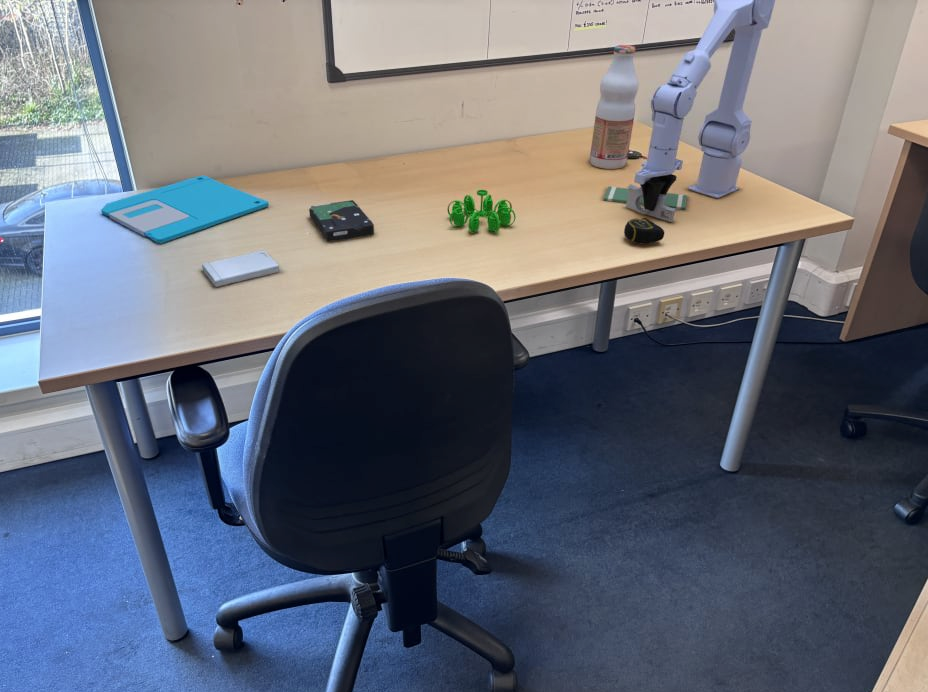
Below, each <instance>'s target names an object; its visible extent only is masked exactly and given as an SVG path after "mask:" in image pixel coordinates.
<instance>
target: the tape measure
mask: <svg viewBox="0 0 928 692" xmlns="http://www.w3.org/2000/svg"><path fill="white" fill-rule="evenodd" d="M623 234H624V237H625V239H626V240H628V241H630V242H632V243H635V244H637V245H638V244H639V245H640V244H641V245H649V244H653V243H656V242H659V241H662V240H663V239H664V236H665V230H664V229H663V228H662V227H661V226H659V225H658V224H657V223H655V222H654V221H651V220H650V219H649V218H647V217H642V218H632V219H629V220H628V221H627V222H626V224H625V225H624V229H623Z"/></svg>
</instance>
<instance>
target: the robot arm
mask: <svg viewBox="0 0 928 692" xmlns="http://www.w3.org/2000/svg"><path fill="white" fill-rule="evenodd" d="M775 3H776V0H714V2H713V15H712V17H711V19H710V21H709V23H708V24H707V26H706V28H705V30H704V32H703V34H702V35H701V38H700V39H699V41H698V43H697V45H696V47H695V49H693V50H691V51H688V52H686V53H685V54H684V56H683V58H682V59H681V60H680V62H679V64H678V65H677V67H676V68H675V70H674V71H673V72H672V74H671V76H670V77H669V79H668V81H667V82H666V83H664V84H663V85H659V86H658V87H657V88H656V89H655V91H654V92H653V93H654V94H653V95H652V98H651V100H650V109H651V112H652V114H651V121H652V122H653V124H652V129H651V134H650V141H649V146H648V152H647V158H646V161H644V162H642V163H641V167H642V168H641V169H640V170H639V171H638V172H635V175H634V179H633V181H634V182H633V183H635V184H637V185H638V184H639V185H640V187H641V188H642V192H643V199H644V205H643V208H644V209H643V210H645V209H647V210H649V211H654V209H655V207H656V203H657V200H658V197H659V194H663V195H666V194H667V193H669V190H670V189H671V187H672V186H673V184H674V183H675V182H676V181H677V178H678V177H677V174H674V173H675V172H676V170H677V171H680V170H682V168H683V165H684V164H683V163H684V160H683V159H678V158H677V155H678V150H679V144H680V139H681V135H682V130H683V124H684V119H685V117H686V116H688V115H689V113H690V112H691V111H692V108H693V105H694V103H695V98H696V97H697V94H698V92H697V90H698V88H699V86H700V85H701V83H702V82H703V80H704V79H705V77H706V76H707V74H708V73H709V71H710V70H711V67H712V63H711V58H712V57H713V55H715V53H716V51H718V49H719V48H720V47H721V45H722V44H723V42H724V41H725V40H726V38H727V37H728V36H729V34H730V33H731V32H732V31H733V30H734V32H735V34H734V38H733V43H732V46H731V50H730V55H729V59H728V64H727V68H726V71H725V76H724V80H723V85H722V88H721V92H720V97H719V101H718V105H717V107H716V109H714V110H711V111H710V112H709V113H707V114H706V115H705V117H704V121H703V123H702V126H701V127H700V129H699V132H698V137H697V138H698V144H699V147H701V149H700V151H701V152H702V153H703V154H702V157H701V163H700V167H699V172H698V177H697V180H696V183H695V184H693V185H691V186H688V188H687V190H689V191H692V192H696V193H698V194H702V195H706V196H708V197H712V198H715V199H720V198H722V197H724V196H727V195H729V194H731V193H733V192H736V191H738V190H739V189H740V187H739V186H737V182H738V178H739V174H740V170H741V167H742V156H741V154H743V153H744V152H745V151H746V149H747V148H748V145H749V143H750V139H751V128H752V127H751V126H752V120H751V118H750V117H749V116H748V114H746V113H745V111H744V110H743V108H744V104H745V100H746V96H747V91H748V88H749V84H750V80H751V76H752V73H753V70H754V69H753V68H754V64H755V61H756V57H757V53H758V48H759V45H760V41H761V38H762V33H763V30H765V29H767V28H768V27H769V25H770V21H771V20H772V14H773V10H774V7H775ZM647 210H646V211H647Z"/></svg>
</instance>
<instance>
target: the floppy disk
mask: <svg viewBox="0 0 928 692" xmlns="http://www.w3.org/2000/svg"><path fill="white" fill-rule="evenodd" d="M269 205H270V204H269V201H268V200H266V199H263V198H260V197H257V196H254V195H252V194H250V193H247V192H244V191H242V190H241V189H238V188H235V187H233V186H230V185H228V184H225V183H223V182H220V181H218V180H215V179H213V178H211V177H208V176H207V175H199V176H195V177H192V178H188V179H185V180H181V181H177V182H175V183H172V184H168V185H163V186H161V187H158V188H155V189H152V190H148V191H145V192H141V193H138V194H135V195H131V196H128V197H124V198H121V199H118V200H114V201H110V202H108V203H106V204H105V205H104V206H103V207H102V208H101V209H100V211H101V214H103V215H105V216H107V217H109V219H111V220H112V221H114V222H117V223H119V224H120V225H122V226H123V227H126V228H128V229H130V230H132V231H133V232H135V233H137V234H139V235H141V236H143V237H148V238H150V239H151V240H152V241H153V242H156V243H157V244H163V243H166V242H169V241H172V240H175V239H178V238H180V237H184V236H186V235H189V234H192V233H195V232H198V231H201V230H204V229H207V228H209V227H212V226H215V225H218V224H221V223H223V222H226V221H230V220H233V219H235V218H238V217H242V216H244V215H247V214H250V213H252V212H255V211H258V210H262V209H264V208H267V207H269Z"/></svg>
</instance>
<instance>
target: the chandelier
mask: <svg viewBox="0 0 928 692" xmlns="http://www.w3.org/2000/svg"><path fill="white" fill-rule="evenodd" d="M488 193H489V192H488V190H486V189H479V190H477V191H476V195H477V196H480V207H479V208H480V209H479V210H478V209H477V208H476V205H475V201H474V197H473V196H472V195H470V194H466V195H464V198H463V201H462V200H458V199H456V200H452V201H451V202H450V203H449V204H448V205H447V214H448V216H449V223H450V225H451V226H452V227H453V228H458V229H459V228H461V227H464V226H465V225H466V223H467V222H468V230H469V231H470V233H471V234H475V233H476V232H477V231H479V229H480V218H483V217H485V218H486V219H487V228H488V230H489V231H490V232H491V233H493V234H496V233H499V230H500V227H501V226H502V227H505V228H507V227H510V226H512V225H513V224H515V221H516V217H517V216H516V213H515V211H514V209H513V205H512V203H511V201H510V200H508V199H501V200H499V201H498V202H496V203H495V205H494V201H493V198H492V195H491V194H488ZM485 196H486V197H485ZM451 204H452V207H451V212H450V206H451ZM508 204H509V206H508ZM493 207H494V208H493ZM496 210H497V211H496ZM511 213H512V214H513V221H512V222H511V218H512V214H511ZM452 220H453V222H452Z"/></svg>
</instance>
